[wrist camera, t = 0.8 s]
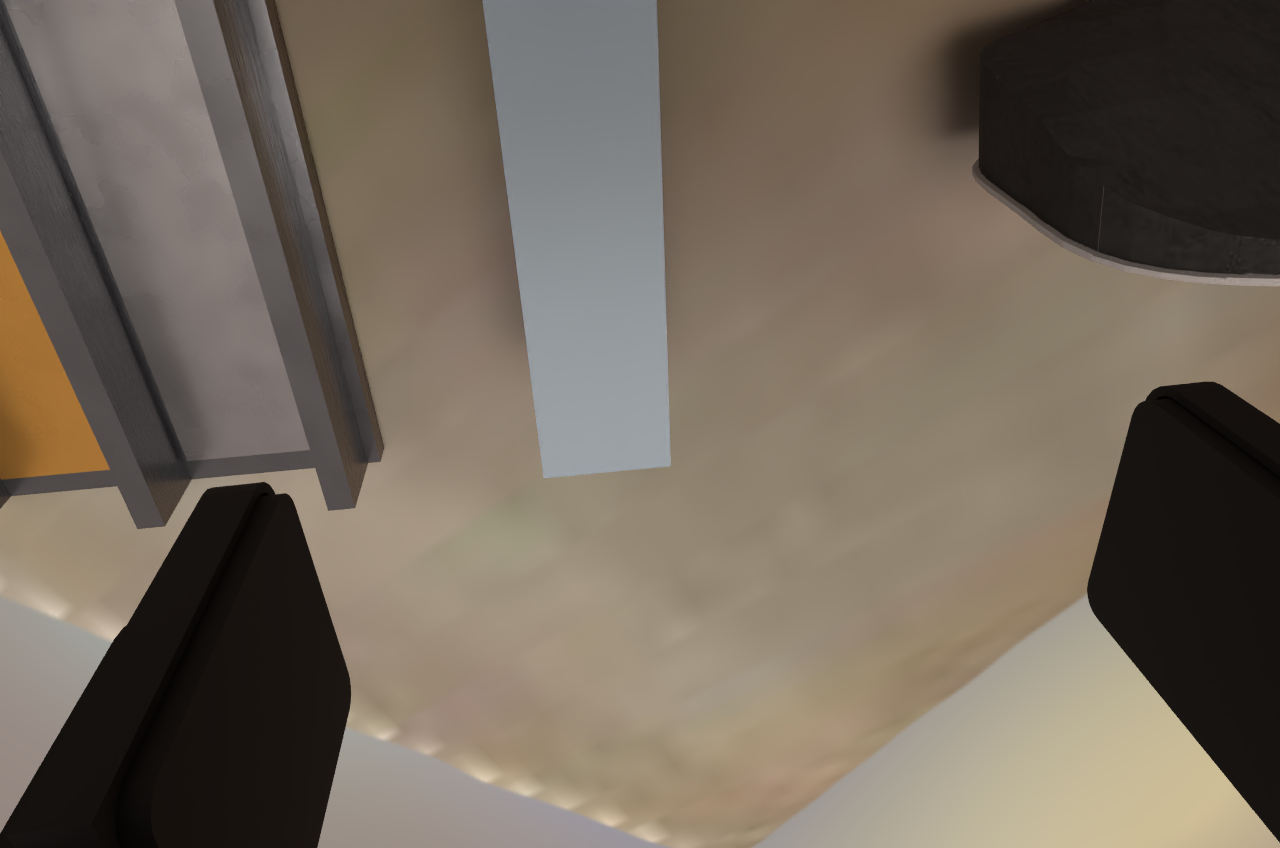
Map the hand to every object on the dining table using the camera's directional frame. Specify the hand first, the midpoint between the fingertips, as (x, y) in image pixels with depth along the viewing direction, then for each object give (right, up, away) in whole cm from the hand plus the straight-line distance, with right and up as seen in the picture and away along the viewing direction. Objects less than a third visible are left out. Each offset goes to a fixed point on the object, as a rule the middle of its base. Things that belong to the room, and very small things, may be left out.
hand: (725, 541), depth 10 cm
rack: (-20, +9, +20) cm, 30 cm away
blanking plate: (-3, +12, +20) cm, 24 cm away
